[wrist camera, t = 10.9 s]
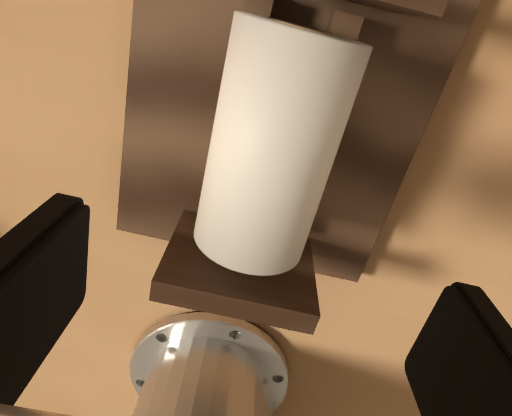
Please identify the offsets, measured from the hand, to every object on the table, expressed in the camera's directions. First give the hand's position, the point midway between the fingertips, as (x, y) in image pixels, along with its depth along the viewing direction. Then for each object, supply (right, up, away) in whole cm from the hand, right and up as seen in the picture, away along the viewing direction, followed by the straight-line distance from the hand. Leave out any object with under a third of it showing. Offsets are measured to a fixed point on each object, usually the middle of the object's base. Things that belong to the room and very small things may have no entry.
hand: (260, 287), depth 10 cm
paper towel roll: (+1, +5, +7) cm, 9 cm away
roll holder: (+1, +7, +12) cm, 14 cm away
